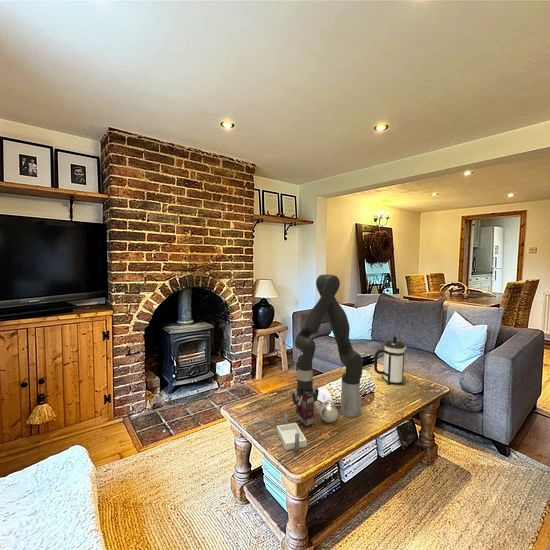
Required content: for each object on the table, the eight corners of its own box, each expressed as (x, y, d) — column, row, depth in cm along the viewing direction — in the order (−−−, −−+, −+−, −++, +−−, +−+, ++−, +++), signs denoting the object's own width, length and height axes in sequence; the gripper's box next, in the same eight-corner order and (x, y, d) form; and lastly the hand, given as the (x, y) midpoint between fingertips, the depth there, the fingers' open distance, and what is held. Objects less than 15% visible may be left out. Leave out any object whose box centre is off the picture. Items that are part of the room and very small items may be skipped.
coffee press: (387, 374, 208) (388, 331, 205) (409, 382, 196) (412, 337, 193) (372, 381, 197) (374, 336, 194) (396, 390, 185) (398, 342, 182)
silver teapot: (340, 418, 153) (340, 399, 152) (335, 428, 145) (335, 408, 144) (322, 413, 157) (323, 395, 156) (317, 423, 149) (317, 403, 148)
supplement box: (295, 417, 150) (295, 386, 149) (303, 414, 153) (303, 384, 152) (306, 426, 143) (306, 394, 142) (314, 423, 146) (314, 391, 144)
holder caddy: (294, 426, 146) (294, 412, 145) (308, 449, 129) (308, 433, 128) (275, 429, 143) (275, 415, 142) (286, 453, 126) (287, 437, 126)
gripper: (315, 372, 152) (315, 404, 153) (288, 375, 148) (288, 408, 149) (321, 378, 144) (321, 412, 146) (293, 382, 140) (293, 417, 142)
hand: (304, 410), depth 148 cm, fingers closed on supplement box, 5 cm apart
